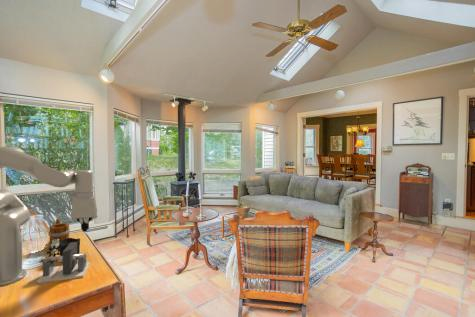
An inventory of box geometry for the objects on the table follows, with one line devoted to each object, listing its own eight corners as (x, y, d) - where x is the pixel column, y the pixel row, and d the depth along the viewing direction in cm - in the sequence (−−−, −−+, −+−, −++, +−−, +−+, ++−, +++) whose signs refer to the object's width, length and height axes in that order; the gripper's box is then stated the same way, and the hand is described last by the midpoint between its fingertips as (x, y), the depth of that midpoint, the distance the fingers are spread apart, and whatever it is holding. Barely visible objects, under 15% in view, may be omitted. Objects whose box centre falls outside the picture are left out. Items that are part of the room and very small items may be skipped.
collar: (62, 274, 110) (62, 251, 110) (70, 263, 120) (70, 242, 120) (70, 273, 111) (70, 251, 111) (77, 262, 121) (77, 242, 121)
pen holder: (78, 252, 137) (78, 236, 136) (81, 258, 130) (81, 240, 130) (57, 257, 130) (57, 240, 130) (60, 264, 123) (60, 245, 123)
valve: (48, 250, 139) (46, 258, 129) (48, 239, 138) (46, 247, 128) (62, 248, 142) (61, 256, 132) (62, 237, 142) (61, 244, 132)
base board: (36, 283, 106) (36, 281, 106) (48, 269, 118) (48, 267, 118) (83, 277, 112) (83, 274, 112) (90, 264, 124) (90, 262, 124)
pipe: (42, 276, 110) (42, 260, 110) (47, 271, 115) (47, 255, 114) (83, 271, 116) (83, 255, 115) (86, 266, 120) (86, 251, 120)
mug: (49, 251, 137) (49, 226, 136) (46, 242, 149) (46, 219, 148) (71, 246, 145) (71, 222, 144) (67, 238, 157) (67, 216, 156)
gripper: (63, 197, 111) (64, 235, 112) (99, 195, 116) (100, 231, 117) (69, 194, 118) (70, 229, 119) (102, 192, 123) (103, 226, 124)
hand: (85, 230), depth 118 cm, fingers closed
